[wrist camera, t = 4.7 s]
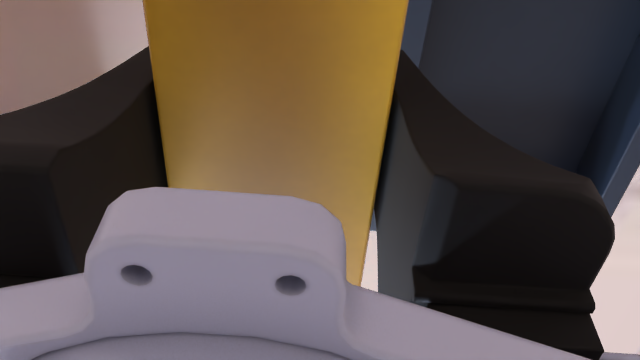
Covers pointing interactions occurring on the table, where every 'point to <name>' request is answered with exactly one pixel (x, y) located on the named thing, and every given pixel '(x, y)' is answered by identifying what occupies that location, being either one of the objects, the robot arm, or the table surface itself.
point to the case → (540, 78)
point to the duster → (279, 100)
